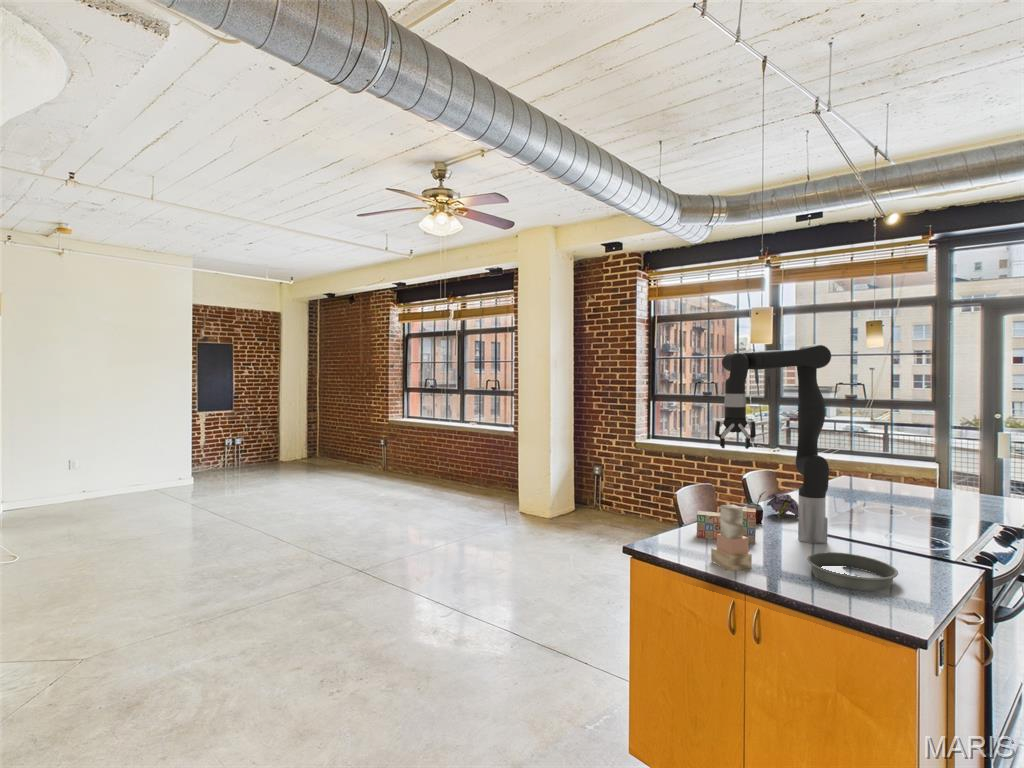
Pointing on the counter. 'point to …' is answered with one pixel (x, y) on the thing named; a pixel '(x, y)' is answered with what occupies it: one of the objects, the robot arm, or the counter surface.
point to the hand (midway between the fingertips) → (735, 448)
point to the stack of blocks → (712, 525)
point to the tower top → (732, 545)
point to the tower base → (731, 560)
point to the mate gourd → (757, 510)
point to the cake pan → (855, 562)
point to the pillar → (731, 521)
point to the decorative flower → (783, 504)
